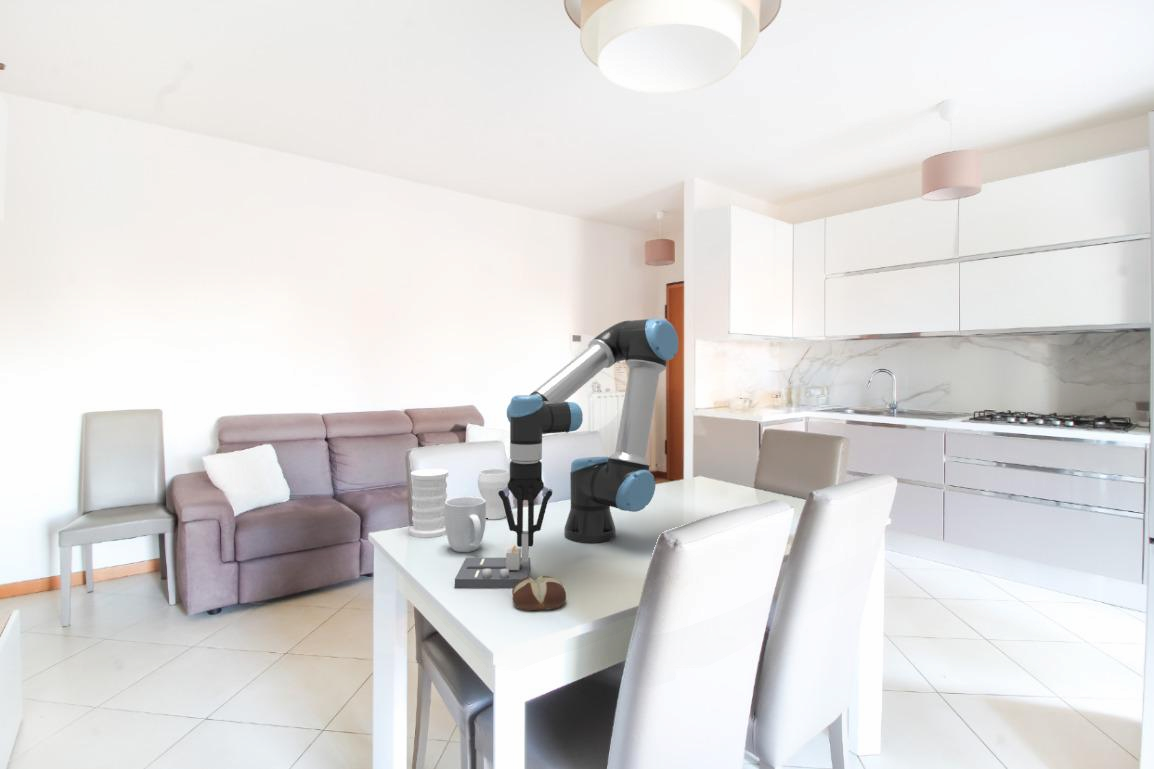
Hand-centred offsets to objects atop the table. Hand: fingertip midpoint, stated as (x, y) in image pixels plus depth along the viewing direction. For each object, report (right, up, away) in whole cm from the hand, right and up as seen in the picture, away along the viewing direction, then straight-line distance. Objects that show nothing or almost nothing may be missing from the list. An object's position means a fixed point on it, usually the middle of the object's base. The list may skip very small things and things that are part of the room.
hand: (525, 559), depth 131 cm
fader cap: (-3, -2, 0) cm, 3 cm away
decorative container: (-32, -3, +35) cm, 47 cm away
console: (-7, -4, 0) cm, 8 cm away
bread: (+4, -5, -13) cm, 15 cm away
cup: (-15, -2, +52) cm, 54 cm away
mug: (-18, -4, +19) cm, 26 cm away
